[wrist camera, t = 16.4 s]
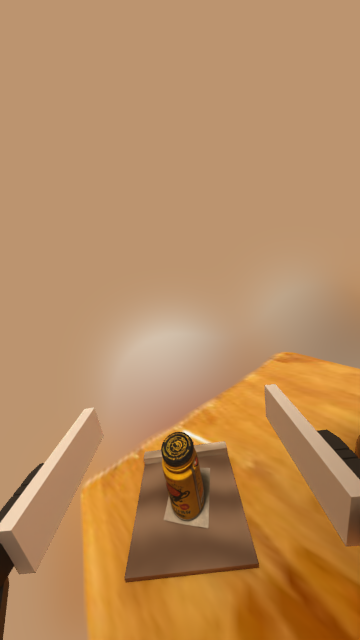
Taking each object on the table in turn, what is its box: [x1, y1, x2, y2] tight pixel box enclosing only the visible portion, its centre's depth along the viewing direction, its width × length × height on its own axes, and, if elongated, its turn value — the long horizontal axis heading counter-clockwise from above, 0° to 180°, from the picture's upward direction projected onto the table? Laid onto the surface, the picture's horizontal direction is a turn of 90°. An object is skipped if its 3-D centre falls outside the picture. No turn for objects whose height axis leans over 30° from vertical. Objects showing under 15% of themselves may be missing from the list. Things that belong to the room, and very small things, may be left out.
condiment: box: [161, 432, 210, 528], centre depth 29 cm, size 7×8×12 cm
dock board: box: [125, 441, 259, 582], centre depth 30 cm, size 16×18×2 cm
